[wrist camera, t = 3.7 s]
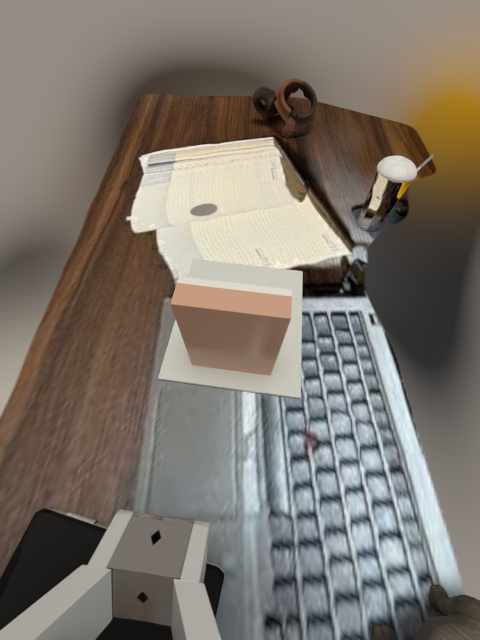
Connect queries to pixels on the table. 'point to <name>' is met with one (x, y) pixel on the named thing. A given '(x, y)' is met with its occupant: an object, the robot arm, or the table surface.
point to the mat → (279, 383)
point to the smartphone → (64, 558)
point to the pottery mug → (285, 105)
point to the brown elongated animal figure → (444, 619)
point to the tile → (232, 323)
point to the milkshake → (387, 190)
